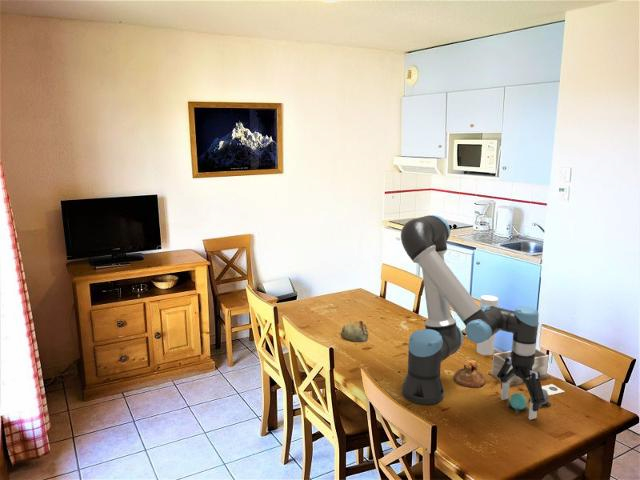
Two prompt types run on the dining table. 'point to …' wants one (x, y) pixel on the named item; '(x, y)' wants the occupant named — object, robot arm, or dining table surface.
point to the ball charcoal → (544, 396)
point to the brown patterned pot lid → (469, 376)
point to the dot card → (552, 389)
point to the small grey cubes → (527, 407)
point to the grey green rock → (355, 332)
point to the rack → (499, 361)
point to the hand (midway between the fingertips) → (517, 408)
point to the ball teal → (518, 401)
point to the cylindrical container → (488, 345)
